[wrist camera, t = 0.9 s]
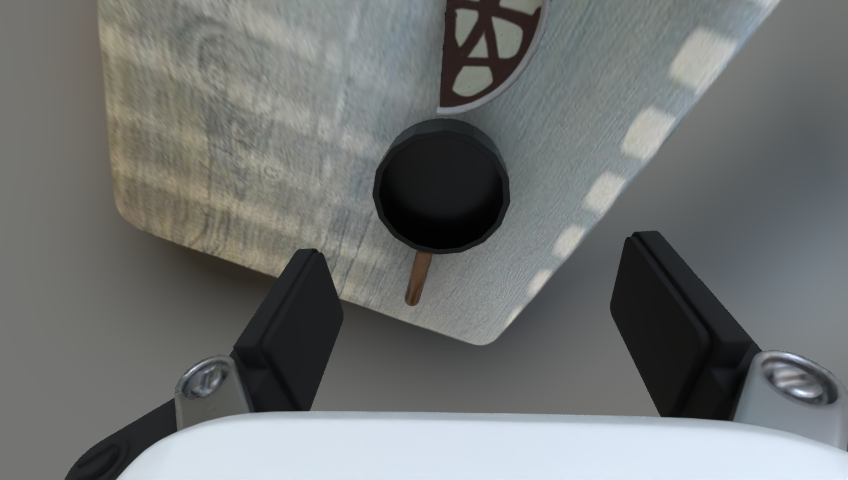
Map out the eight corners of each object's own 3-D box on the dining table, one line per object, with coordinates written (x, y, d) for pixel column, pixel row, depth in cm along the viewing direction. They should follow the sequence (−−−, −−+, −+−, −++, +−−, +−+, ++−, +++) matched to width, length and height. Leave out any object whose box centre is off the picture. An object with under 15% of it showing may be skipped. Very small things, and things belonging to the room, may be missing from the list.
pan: (392, 103, 32) (384, 115, 28) (524, 136, 32) (531, 151, 29) (364, 274, 43) (356, 297, 40) (462, 296, 44) (462, 320, 41)
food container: (512, 95, 31) (532, 129, 22) (442, 91, 31) (435, 122, 23) (547, -99, 24) (594, -154, 15) (456, -103, 24) (453, -159, 16)
